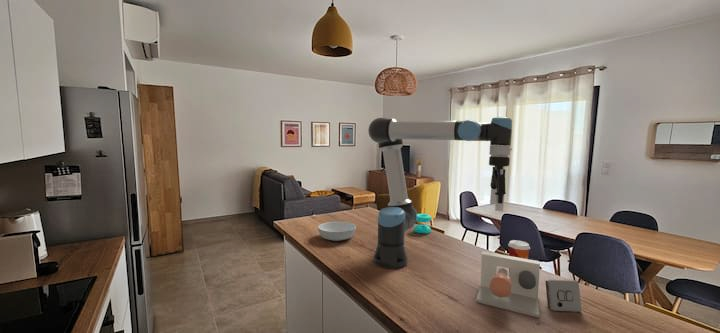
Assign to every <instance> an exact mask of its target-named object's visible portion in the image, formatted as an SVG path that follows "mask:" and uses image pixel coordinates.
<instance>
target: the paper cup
mask: <svg viewBox="0 0 720 333" xmlns="http://www.w3.org/2000/svg"><path fill="white" fill-rule="evenodd" d="M507 245H508V256H512V257H518V258H524V259H529V253H530V250H531V247H530V244H529V243H528V242H527V241H522V240H518V239H517V240H515V239H512V240H510V241H509V243H507ZM508 275H509V276H510V268H508ZM509 276H508V277H509Z"/></svg>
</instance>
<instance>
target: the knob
mask: <svg viewBox="0 0 720 333" xmlns="http://www.w3.org/2000/svg"><path fill="white" fill-rule="evenodd" d="M508 275H509V272H508V270H507V269H505V267H502V268H499V269H498V271H497V273H496V275H494V276H493V277H492V279H491V282H490V290H491V292H492V293H493V294H494V295H496V296H498V297H502V298H503V297H507V296H508V295H509V294H510V292H511V281H510V279H509V278H508V277H509V276H508Z"/></svg>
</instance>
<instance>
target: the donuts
mask: <svg viewBox="0 0 720 333" xmlns="http://www.w3.org/2000/svg"><path fill="white" fill-rule="evenodd" d="M431 220H432V216H431V215H430V214H427V213H417V220H416V222H418V223H429V222H431ZM413 231H414V232H415V233H417V234H429V233H431V231H432V229H431V227H430V226H429V225H427V224H417V225H415V226H414V227H413Z"/></svg>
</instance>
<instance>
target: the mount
mask: <svg viewBox="0 0 720 333" xmlns="http://www.w3.org/2000/svg"><path fill="white" fill-rule="evenodd" d="M540 263H541V261H539V260H536V259H535V260H534V259H529V258H528V259H524V258H518V257H512V256H509V255H507V254H501V253H496V252H495V253H494V252H489V251H482V252H481V268H480V269H481V270H480V285H479V286H480V287H479V289H478V291H477V292H478V293H477V297H476V301H475V302H476V303H480V304H483V305H487V306H491V307H495V308H499V309H503V310H507V311H511V312H514V313H519V314H523V315H527V316H530V317H534V318H538V319H540V318H539V317H540V311H539V286H540V284H539V283H540V282H539V281H540V269H541V268H540V267H541V264H540ZM497 267H502V268H507V269H509V268H510V276H507V277H508V278H509V279H510V281H511V292H510V294H509V295H508V296H507V297H503V298H502V297H498V296H496V295H494V294H493V293H492V292H491V290H490V282H491V279H492V277H493V276H494V275H496V274H497Z"/></svg>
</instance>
